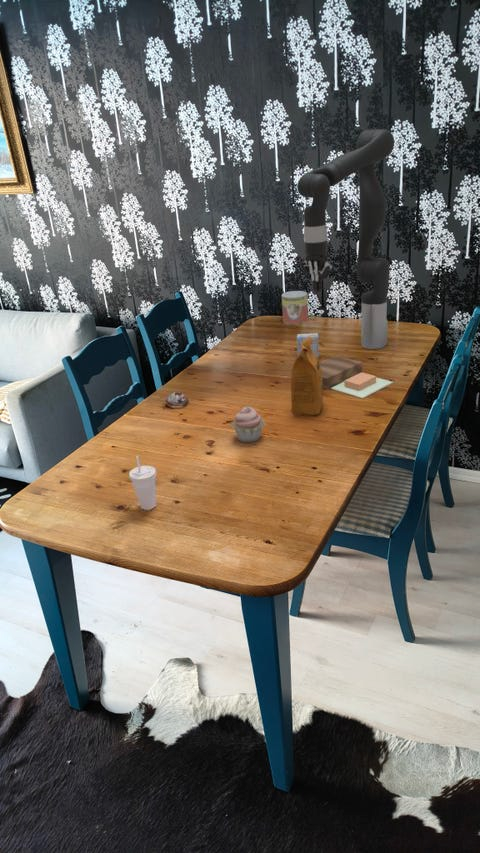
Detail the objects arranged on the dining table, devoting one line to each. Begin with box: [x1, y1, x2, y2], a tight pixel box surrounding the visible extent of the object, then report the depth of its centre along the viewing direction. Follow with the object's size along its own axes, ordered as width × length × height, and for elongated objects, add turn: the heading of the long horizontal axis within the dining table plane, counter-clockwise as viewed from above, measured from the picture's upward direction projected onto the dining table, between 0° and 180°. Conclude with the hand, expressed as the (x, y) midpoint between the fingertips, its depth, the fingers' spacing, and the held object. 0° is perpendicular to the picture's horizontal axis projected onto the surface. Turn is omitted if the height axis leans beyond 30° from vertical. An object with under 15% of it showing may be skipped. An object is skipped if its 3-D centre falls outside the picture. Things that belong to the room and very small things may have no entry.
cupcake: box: [231, 406, 265, 444], centre depth 176 cm, size 9×9×10 cm
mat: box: [330, 376, 394, 400], centre depth 205 cm, size 16×13×1 cm
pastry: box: [165, 390, 190, 410], centre depth 204 cm, size 8×8×5 cm
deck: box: [319, 355, 363, 391], centre depth 213 cm, size 18×12×4 cm, turn 132°
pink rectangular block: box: [344, 371, 377, 391], centre depth 205 cm, size 9×6×2 cm, turn 132°
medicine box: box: [296, 332, 320, 359], centre depth 232 cm, size 8×4×9 cm, turn 84°
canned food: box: [281, 290, 309, 325], centre depth 274 cm, size 11×11×12 cm
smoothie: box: [128, 455, 157, 511], centre depth 147 cm, size 6×6×14 cm
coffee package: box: [290, 337, 324, 416], centre depth 188 cm, size 10×12×22 cm
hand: (317, 291), depth 211 cm, fingers closed
